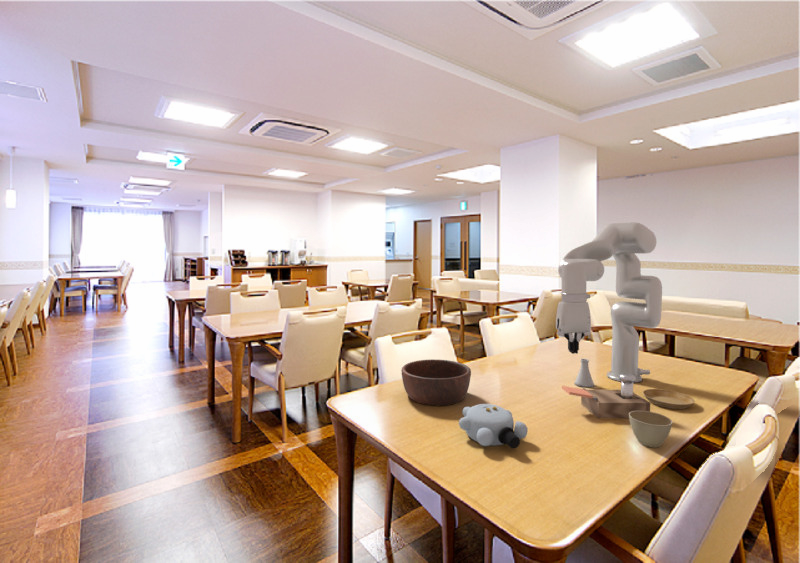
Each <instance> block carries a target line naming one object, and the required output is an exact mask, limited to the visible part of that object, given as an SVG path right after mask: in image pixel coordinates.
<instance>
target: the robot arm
mask: <svg viewBox="0 0 800 563" xmlns="http://www.w3.org/2000/svg"><path fill="white" fill-rule="evenodd" d="M656 246H657V238H656V235H655V233H654V232H653V231H652V230H651V229H650V228H648V227H647V226H645V225H644V224H642V223H640V222H634V221H632V222H615V223H610V224H607V225H605V226H604V227H603V228H602V229H601V230H600V232H598V234H597V235H596V236H595V237H594V238H593V239H592V240H591V241H588V242H587V243H584V244H582V245H580V246H577V247H575V248H574V249H571V250H570V251H569V252H567V253H566V255H565V256H564V257H563V258H562V259H561V260H560V263H559V265H558V268H557V271H558V275H559V277H560V278H561V296H560V297H561V298H560V299H561V301H559V302H558V305H557V309H556V310H557V311H556V314H555V315H556V316H555V317H556V318H555V329H556V330H557V331H556V335H557V336H559V337H563V338H565V340H567V350H568V352H569V353H570V354H573V355H575V354H578V353H579V350H580V343H581V340H582V339H583V338H584V337H586V336H589V335H591V330H592V329H591V328H592V319H591V310H590V305H589V302H588V299H591V294H590V293H589V294H588V293H587V282H597V281H599V280H600V279H602V278H603V276H604V274H605V265H604V264H603V263H602V262H603V261H606V260H609V259H610V258H612V257H613V259H614V261H615V264H616V266H615V267H616V268H615V269H616V270H615V272H616V273H615V292H616V293H615V294H616V295H617V296H618V297H620V298H623V299H631V300H632V299H634V300H641V301H642V300H643V301H645V302H636V301H617V302H615V303H613V304H612V305H611V306H610V307H611V308H610V318H611V325H612V326H611V327H612V328H611V329H612V338H611V339H612V340H611V343H612V344H611V367H610V368H611V370H610V371H607V373H606V377H608V379H610V380H614V381H617V382H621V380H620V379H619V376H620V374H621V373H627V374H632V375H635V376H636V382H633V384H635V383H640V382H642V381H643V377H642V376H643V375H645V376H647V375H651V371H650V370H649V369H643V368H639V353H640V352H639V349H640V348H639V346H640V336H639V333H638V332H637V329H636V328H635V327H637V328H638V327H640V328H645V329H646V328H647V329H654V328H657V327H658V326H659V325H660V323H661V321H662V320H661V319H662V306H663V305H662V303H663V301H662V300H663V285H662V281H661V279H660V278H659V277H657V276H654V275H642V274H641V270H642V269H641V268H642V266H641V261H640V259H639V257H638V255H637V254H650V253H652V252H654V251H655V249H656Z"/></svg>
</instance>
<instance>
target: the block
mask: <svg viewBox="0 0 800 563" xmlns="http://www.w3.org/2000/svg"><path fill="white" fill-rule="evenodd" d="M581 389H584V390H586V391H587V392H588V393H590V394H591V395H592V396H593V398H587V397H581V396H580V397H581V398H580V402H581V403H580V404H581V405H582V406H583V407H584V408H585V409H586V410H588V411H589V412H590V413H591V414H592V415H594V416H595V417H596V419H599V420H600V419H605V420H606V419H614V420H617V419H625V420H626V419H628V420H629V413H630V412H632V411H649V412H651V402H650V401H649V400H648V399H647V400H646V398H645V399H644V398H643V397H641V395H638V394H637V393H635V392H633V399H622V398H621V389H586V387H582V388H581Z"/></svg>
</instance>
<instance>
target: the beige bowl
mask: <svg viewBox="0 0 800 563" xmlns="http://www.w3.org/2000/svg"><path fill="white" fill-rule="evenodd" d="M628 420H629V424H630V427H631V430H632V432H633V434H634V437H635V438H636V440H637V442H638V443H640V444H641V445H643V446H645V447H648V446H649V447H650V448H659V447H660V446H662V445H663V443H664V442H665V441H666V439H668V437H669V434H670V433H671V430H672V428H673V421H672V419H671V418H669V416H665V415H664V414H661V413H657V412H653V411H650V412H649V411H632V412H630V413H629V419H628ZM649 447H648V448H649Z"/></svg>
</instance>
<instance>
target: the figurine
mask: <svg viewBox="0 0 800 563" xmlns="http://www.w3.org/2000/svg"><path fill="white" fill-rule="evenodd" d="M462 415H463V417H461V418H460V419H459V420H458V421H459V422H458V426H459V428H460V429H461V430H464V431H465V433H466V435H467V436H468V437H469V438H470V439H472V440H473V441H474V442H477V443H479V445H481V446H483V447H489V446H496V447H497V446H502V445H507V446H508V447H509V448H510V449H512V450H515V449H516V448H518V447H519V446H520V443H521V439H524V438H526V436H527V435H528V433H529V431H528V429H529V428H528V427H527V425H526V424H525V423H524V422H522V421H519V420H516V421H514V417H513V413H512V412H511V410H509V409H505V408H503V407H501V406H499V405H497V404H493V403H492V404H491V403H479V404H476V405H473V406H465V407H463V409H462Z"/></svg>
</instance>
